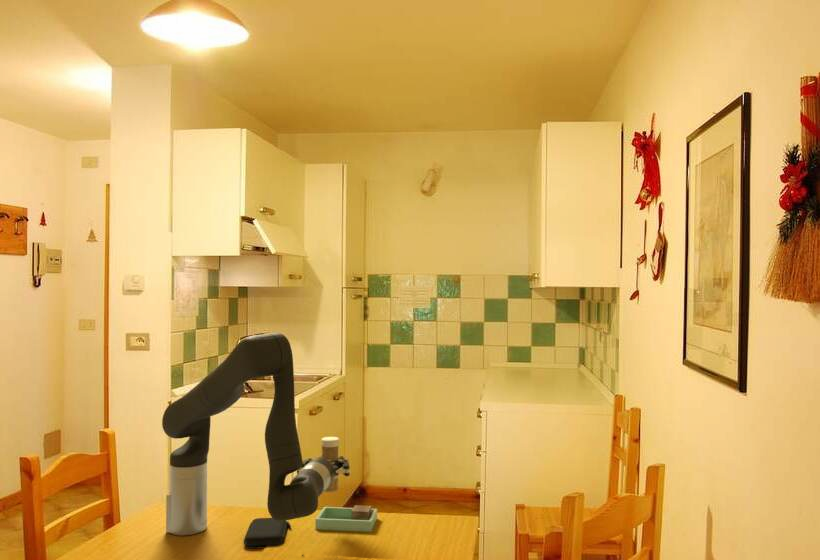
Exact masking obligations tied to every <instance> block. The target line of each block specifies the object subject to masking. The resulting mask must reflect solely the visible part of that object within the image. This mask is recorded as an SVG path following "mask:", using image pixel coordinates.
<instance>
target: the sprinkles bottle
mask: <svg viewBox="0 0 820 560" xmlns="http://www.w3.org/2000/svg"><path fill="white" fill-rule="evenodd" d="M339 446H340V438H339V437H337V436H324V437H322V438H321V456H322V458H323V459H326V460H327V461H331V460H333V459H334V460H337V459H338V458H339ZM337 491H339V474H338V475H337V476H335V477H334V480H333V481H332V483H331V484H330V485H329V487H328V488H327V489H326V490H325V491H324V493H335V492H337Z"/></svg>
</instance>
